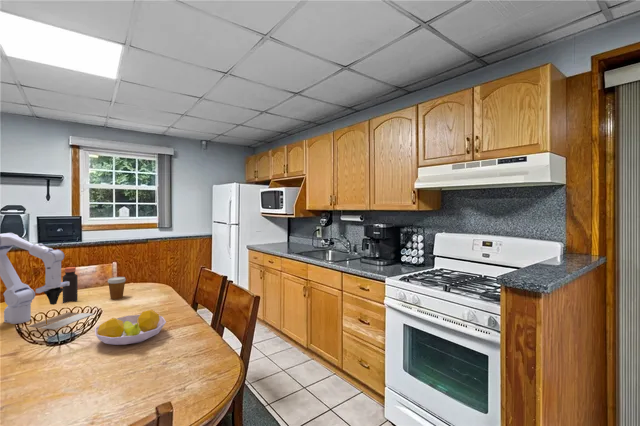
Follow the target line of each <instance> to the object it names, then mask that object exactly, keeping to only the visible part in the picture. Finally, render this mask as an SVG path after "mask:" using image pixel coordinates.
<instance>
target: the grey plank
mask: <svg viewBox="0 0 640 426" xmlns="http://www.w3.org/2000/svg"><path fill="white" fill-rule="evenodd" d="M93 315H95V313H88V312H83V313H82V312H79V314H76V315H74V316H71V317H68V318H65V319H63V320H60V321H57V322H54V323H52V324H49V325H46V326H43V327H41V329H45V330H58V329H60V328H62V327H65V326H67V325H70V324H73V323H75V322H78V321H81V320H83V319H86V318H89V317H92V316H93Z"/></svg>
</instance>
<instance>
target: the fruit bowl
mask: <svg viewBox="0 0 640 426" xmlns="http://www.w3.org/2000/svg"><path fill="white" fill-rule="evenodd" d="M166 323H167V321H166V319H165V318H164V317H163V316H162V315H160V314H158V313H157V312H155V310H153V309H147V310H144V311H142V312H141V313H140V314H134V315H126V316H121V317H119V318H116V317H112V318H110V319H108V320H106V321H105V322H103V323H101V324H100V325H98V326H96V327H95V328H94V335H95V337H96V338H97V339H98V340H99V341H101V342H102V343H104V344H106V345H107V344H108V345H114V346H121V345H129V344H131V345H132V344H139V343H142V342H144V341H146V340H148V339H150V338H152V337H154V336H157V335H158V334H159V333H160V332H161V330H162V329H163V327H164V326H165V324H166Z"/></svg>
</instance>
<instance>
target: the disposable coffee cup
mask: <svg viewBox="0 0 640 426" xmlns="http://www.w3.org/2000/svg"><path fill="white" fill-rule="evenodd" d="M126 281H127V278H126V277H125V276H114V277H109V278H108V279H107V284H108V289H109V296H110V297H109V298H110V300H119V299H122V298H123V297H124V292H125V285H126Z"/></svg>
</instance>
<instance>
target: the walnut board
mask: <svg viewBox="0 0 640 426" xmlns="http://www.w3.org/2000/svg"><path fill="white" fill-rule="evenodd" d="M77 314H80V312H72V313H71V311H68V312H65V313H62V314H59V315H56V316H53V317H49V318H48V319H44V320H41V321H38V322H35V323H33V324H30V325H27V326H26V327H27V328H37V329H42V327H44V326H47V325H50V324H53V323H55V322H58V321H61V320H64V319H66V318H69V317H72V316H75V315H77ZM46 320H47V324H46Z"/></svg>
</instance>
